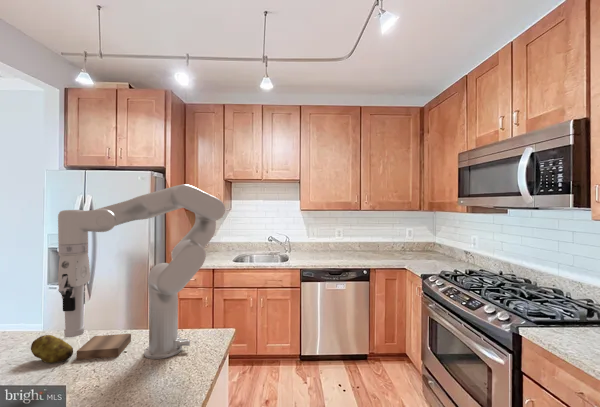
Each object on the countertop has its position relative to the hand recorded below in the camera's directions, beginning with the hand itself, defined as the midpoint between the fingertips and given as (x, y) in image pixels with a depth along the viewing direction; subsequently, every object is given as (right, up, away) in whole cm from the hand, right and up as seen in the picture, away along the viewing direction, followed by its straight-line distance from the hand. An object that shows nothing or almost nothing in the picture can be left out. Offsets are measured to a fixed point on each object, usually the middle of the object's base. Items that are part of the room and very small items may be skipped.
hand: (74, 307), depth 98 cm
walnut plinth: (-1, -21, +17) cm, 27 cm away
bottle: (0, -9, 0) cm, 9 cm away
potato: (-14, -21, +9) cm, 27 cm away
